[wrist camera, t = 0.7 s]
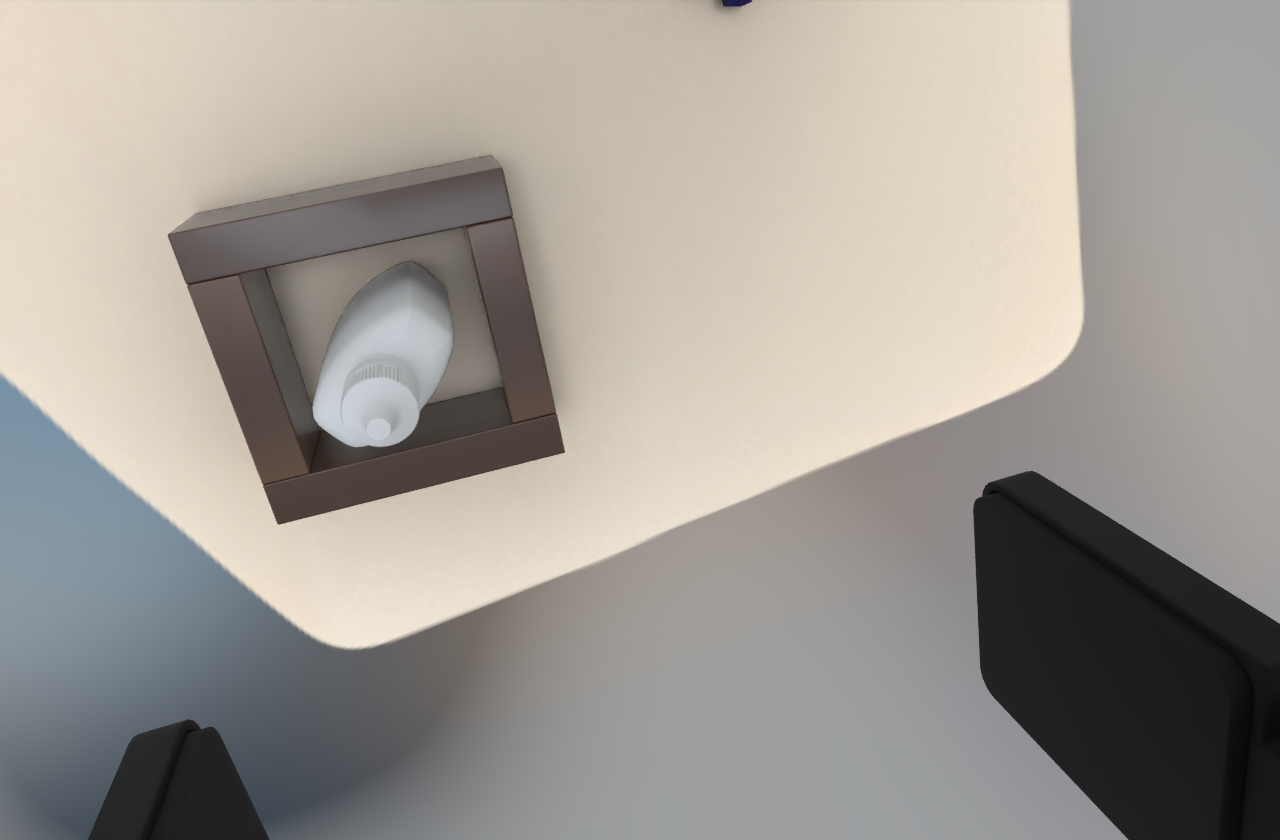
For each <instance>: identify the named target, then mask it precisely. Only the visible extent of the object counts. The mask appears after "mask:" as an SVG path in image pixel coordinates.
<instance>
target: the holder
mask: <svg viewBox="0 0 1280 840" xmlns="http://www.w3.org/2000/svg"><path fill="white" fill-rule="evenodd" d="M512 216H513V213H512V209H511V204H510V200H509V195H508V190H507V186H506V181H505V177H504V172H503V168H502V167H501V166H500V165H499V163H498V162H497V161H496V160H495V159H494V157H493V156H492V155H488V156H483V157H478V158H473V159H467V160H462V161H457V162H452V163H447V164H442V165H437V166H432V167H427V168H422V169H417V170H412V171H407V172H402V173H397V174H392V175H387V176H382V177H377V178H371V179H366V180H361V181H356V182H351V183H346V184H341V185H336V186H331V187H326V188H321V189H316V190H311V191H306V192H301V193H296V194H291V195H286V196H281V197H275V198H270V199H265V200H260V201H255V202H250V203H245V204H240V205H235V206H230V207H225V208H220V209H215V210H210V211H205V212H200V213H196V214H195V215H193V216H192V217H191V218H189V219H188V220H187V221H185V222H184V223H183V224H181V225H180V226H179V227H177V228H176V229H175V230H173V231H172V232H171V233H169V234H168V238H169V240H170V243H171V246H172V248H173V251H174V254H175V256H176V259H177V261H178V264H179V267H180V269H181V272H182V275H183V277H184V280H185V282H186V284H188V285H187V288H188V290H189V293H190V295H191V298H192V301H193V303H194V306H195V308H196V311H197V314H198V316H199V319H200V322H201V324H202V327H203V329H204V332H205V335H206V337H207V340H208V343H209V345H210V348H211V350H212V353H213V356H214V358H215V361H216V364H217V366H218V369H219V371H220V374H221V377H222V379H223V382H224V385H225V387H226V390H227V392H228V395H229V398H230V400H231V403H232V405H233V408H234V411H235V413H236V416H237V419H238V421H239V424H240V426H241V429H242V432H243V434H244V437H245V440H246V442H247V445H248V447H249V450H250V453H251V455H252V458H253V461H254V463H255V466H256V468H257V471H258V474H259V476H260V479H261V482H262V483H263V487H264V490H265V492H266V495H267V498H268V500H269V503H270V505H271V508H272V511H273V513H274V516H275V519H276V521H277V524H283V523H287V522H291V521H295V520H299V519H303V518H307V517H311V516H315V515H319V514H323V513H327V512H331V511H335V510H339V509H342V508H346V507H350V506H354V505H358V504H362V503H366V502H370V501H374V500H378V499H382V498H386V497H390V496H394V495H398V494H402V493H406V492H410V491H414V490H418V489H422V488H426V487H430V486H434V485H438V484H442V483H446V482H450V481H454V480H458V479H462V478H466V477H470V476H474V475H478V474H482V473H485V472H489V471H493V470H497V469H501V468H505V467H509V466H513V465H517V464H521V463H525V462H529V461H533V460H537V459H541V458H545V457H549V456H553V455H557V454H561V453H564V452H565V450H564V445H563V441H562V436H561V432H560V427H559V422H558V418H557V414H556V409H555V405H554V400H553V395H552V391H551V386H550V382H549V377H548V373H547V368H546V364H545V359H544V354H543V350H542V345H541V341H540V336H539V332H538V327H537V323H536V318H535V314H534V309H533V304H532V300H531V295H530V291H529V286H528V282H527V277H526V273H525V268H524V263H523V259H522V254H521V250H520V245H519V241H518V236H517V232H516V227H515V223H514V219H513V217H512ZM461 227H463V228H464V232H465V236H466V240H467V244H468V248H469V252H470V256H471V261H472V265H473V269H474V273H475V277H476V281H477V285H478V289H479V293H480V297H481V302H482V306H483V310H484V314H485V318H486V322H487V326H488V330H489V334H490V338H491V343H492V347H493V351H494V355H495V359H496V363H497V367H498V371H499V375H500V380H501V384H502V387H501V388H497V389H493V390H488V391H484V392H480V393H476V394H472V395H467V396H463V397H459V398H455V399H451V400H446V401H442V402H438V403H434V404H430V405H425V406H423V408H422V409H421V410H420V413H419V420H418V424H416V427H415V428H414V430H413V431H412V433H411V434H409V436H407V437H406V439H403V441H400V443H396V444H393V445H392V446H391V445H389V446H385V447H383V446H381V447H379V446H377V447H375V446H371V445H366V446H364V447H352V446H349V445H347V444H345V443H343V442H341V441H340V440H338V439H337V438H335V437H334V436H332V435H331V434H329V433H328V432H327V431H325V430H320V429H319V426H318V423H317V422H316V421H315V419H314V416H313V408H312V406H311V403H310V400H309V397H308V394H307V391H306V388H305V385H304V382H303V379H302V376H301V373H300V370H299V367H298V365H297V362H296V359H295V356H294V353H293V350H292V347H291V344H290V341H289V338H288V335H287V332H286V329H285V327H284V324H283V321H282V318H281V315H280V312H279V309H278V306H277V303H276V300H275V297H274V294H273V291H272V288H271V286H270V283H269V280H268V277H267V274H266V271H265V268H270V267H274V266H279V265H284V264H289V263H293V262H298V261H303V260H308V259H313V258H317V257H322V256H327V255H332V254H336V253H341V252H346V251H351V250H356V249H360V248H365V247H370V246H375V245H379V244H384V243H389V242H394V241H399V240H403V239H408V238H413V237H418V236H423V235H427V234H432V233H437V232H442V231H446V230H451V229H456V228H461ZM319 430H320V431H319Z"/></svg>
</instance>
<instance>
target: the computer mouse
mask: <svg viewBox="0 0 1280 840" xmlns="http://www.w3.org/2000/svg"><path fill="white" fill-rule="evenodd" d="M722 1H723V6H743V5H746V4H748V3H750V2H752V0H722Z"/></svg>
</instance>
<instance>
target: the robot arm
mask: <svg viewBox="0 0 1280 840" xmlns="http://www.w3.org/2000/svg"><path fill="white" fill-rule="evenodd" d="M973 514H974V535H975V536H974V537H975V559H976V579H977V580H976V581H977V604H978V626H979V649H980V668H981V673H982V677H983V680H984V682H985V684H986V687H987V688H988V690H989V692H990V693H991V694H992V696H993V697H994V698H995V699H996V700H997V701H998V702H999V703H1000V704H1001V705H1002V707H1003V708H1004V709H1005V710H1006V711H1007V712H1008V713H1009V714H1010V715H1011V716H1012V717H1013V718H1014V719H1015V720H1016V721H1017V722H1018V724H1020V726H1021V727H1022V728H1023V729H1024V730H1025V731H1026V732H1027V733H1028V734H1029V735H1030V736H1031V737H1032V738H1033V739H1034V740H1035V741H1036V742H1037V744H1038V745H1040V747H1041V748H1042V749H1043V750H1044V751H1045V752H1046V753H1047V754H1048V755H1049V756H1050V757H1051V758H1052V759H1053V760H1054V761H1055V763H1056V764H1058V766H1059V767H1060V768H1061V769H1062V770H1063V771H1064V772H1065V773H1066V774H1067V775H1068V776H1069V777H1070V778H1071V779H1072V780H1073V781H1074V783H1075V784H1076V785H1077V786H1078V787H1079V788H1080V789H1081V790H1082V791H1083V792H1084V793H1085V794H1086V795H1087V796H1088V797H1089V798H1090V799H1091V801H1092V802H1093V803H1094V804H1095V805H1096V806H1097V807H1098V808H1099V809H1100V810H1101V811H1102V812H1103V813H1104V814H1105V815H1106V816H1107V817H1108V819H1110V821H1111V822H1112V823H1113V824H1114V825H1115V826H1116V827H1117V828H1118V829H1119V830H1120V831H1121V832H1122V833H1123V834H1124V835H1125V836H1126V837H1127V838H1128V840H1280V624H1279V623H1277V622H1276V621H1274V620H1273V619H1271V618H1270V617H1268V616H1266V615H1265V614H1263V613H1262V612H1260V611H1258V610H1257V609H1255V608H1254V607H1252V606H1250V605H1248V604H1247V603H1245V602H1244V601H1242V600H1241V599H1239V598H1237V597H1236V596H1234V595H1232V594H1231V593H1229V592H1228V591H1226V590H1224V589H1223V588H1221V587H1220V586H1218V585H1217V584H1215V583H1213V582H1212V581H1210V580H1209V579H1207V578H1205V577H1204V576H1202V575H1201V574H1199V573H1197V572H1196V571H1194V570H1193V569H1191V568H1189V567H1188V566H1186V565H1185V564H1183V563H1181V562H1180V561H1178V560H1177V559H1175V558H1173V557H1172V556H1170V555H1169V554H1167V553H1165V552H1164V551H1162V550H1160V549H1159V548H1157V547H1156V546H1154V545H1152V544H1151V543H1149V542H1148V541H1146V540H1144V539H1143V538H1141V537H1140V536H1138V535H1136V534H1134V533H1133V532H1132V531H1130V530H1128V529H1127V528H1125V527H1124V526H1122V525H1120V524H1118V523H1117V522H1116V521H1114V520H1112V519H1111V518H1109V517H1108V516H1106V515H1104V514H1103V513H1101V512H1100V511H1098V510H1096V509H1094V508H1093V507H1092V506H1090V505H1088V504H1087V503H1085V502H1083V501H1082V500H1080V499H1079V498H1077V497H1075V496H1074V495H1072V494H1070V493H1069V492H1067V491H1066V490H1064V489H1063V488H1061V487H1059V486H1058V485H1056V484H1055V483H1053V482H1051V481H1050V480H1048V479H1046V478H1045V477H1043V476H1041V475H1040V474H1038V473H1036V472H1033V471H1027V472H1024V473H1020V474H1017V475H1013V476H1010V477H1007V478H1003V479H1000V480H997V481H993V482H990V483H988V484H987V485H986V486H985V488H984V490H983V496H982V497H980V498H978V499H976V500H975V503H974V509H973ZM88 840H269V838H268V836H267V834H266V831H265V830H264V827H263V825H262V823H261V821H260V819H259V817H258V814H257V812H256V810H255V808H254V806H253V804H252V802H251V800H250V798H249V796H248V793H247V791H246V789H245V787H244V785H243V783H242V781H241V779H240V776H239V774H238V772H237V770H236V768H235V766H234V764H233V761H232V759H231V757H230V755H229V753H228V751H227V749H226V747H225V745H224V743H223V740H222V738H221V736H220V734H219V733H218V731H217V730H216V729H215V728H213V727H207V728H204V729H200V727H199V726H198V724H196V722H194V721H193V720H189V719H188V720H185V721H181V722H178V723H175V724H172V725H168V726H165V727H161V728H158V729H154V730H151V731H147V732H144V733H141V734H138V735H136V736H134V737H133V738H132V740H131V742H130V743H129V745H128V747H127V750H126V752H125V755H124V757H123V759H122V761H121V764H120V766H119V768H118V771H117V773H116V775H115V778H114V780H113V782H112V785H111V787H110V790H109V792H108V794H107V796H106V799H105V801H104V803H103V806H102V808H101V811H100V813H99V815H98V817H97V820H96V822H95V825H94V827H93V829H92V831H91V834H90V836H89V839H88Z"/></svg>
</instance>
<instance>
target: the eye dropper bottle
mask: <svg viewBox="0 0 1280 840" xmlns="http://www.w3.org/2000/svg"><path fill="white" fill-rule="evenodd" d="M452 346H453V330H452V321H451V314H450V307H449V301H448V295H447V291H446V289H445V288H444V286H443V285H442V284H441V283H440V282H439V281H437V280H436V279H435V278H434V277H432V276H431V275H430V274H429V273H428V272H426V271H425V270H424V269H422V268H421V267H420V266H418V265H417V264H414V263H412V262H407V263H402V264H399V265H397V266H394V267H393V268H391V269H389V270H387V271H385V272H383V273H382V274H380V275H379V276H377V277H376V278H374V279H373V280H372V281H370V282H369V283H368V284H367V285H366V286H364V287H363V288H362V289H361V290H360V291H359V292H358V293H357V294H356V295H355V297H354V298H353V299H352V300H351V301H350V303H349V304H348V305H347V307H346V308H345V310H344V311H343V313H342V314H341V316H340V318H339V320H338V322H337V324H336V326H335V328H334V330H333V333H332V335H331V338H330V341H329V344H328V348H327V351H326V355H325V358H324V362H323V366H322V369H321V373H320V377H319V380H318V384H317V388H316V392H315V397H314V402H313V416H314V419H315V421H316V422H317V423H318V425H319V426H320V427H321V428H323V429H324V430H325V431H327V432H328V433H329V434H331V435H332V436H334V437H335V438H337V439H338V440H340V441H341V442H343V443H345V444H347V445H349V446H352V447H364V446H366V445H371V446H375V447H377V446H379V447H381V446H383V447H385V446H389V445H391V446H392V445H393V444H396V443H400V441H403V439H406V437H407V436H409V434H411V433H412V431H413V430H414V428H415V427H416V424H418V420H419V413H420V410H421V409H422V408H423V406H424V405H425V404H426V403H427V401H428V400H429V399H430V397H431V396H432V394H433V393H434V391H435V390H436V388H437V386H438V384H439V383H440V381H441V379H442V376H443V374H444V372H445V370H446V367H447V364H448V362H449V358H450V355H451V351H452Z"/></svg>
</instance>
